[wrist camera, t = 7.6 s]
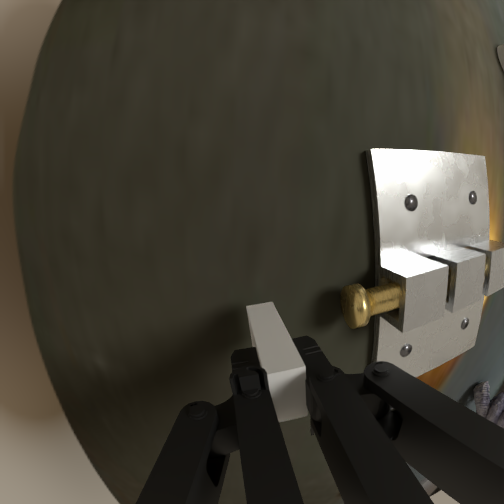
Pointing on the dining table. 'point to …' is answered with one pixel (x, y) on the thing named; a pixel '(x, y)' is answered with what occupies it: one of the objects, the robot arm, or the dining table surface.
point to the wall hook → (501, 55)
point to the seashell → (489, 404)
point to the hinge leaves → (431, 253)
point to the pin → (371, 301)
